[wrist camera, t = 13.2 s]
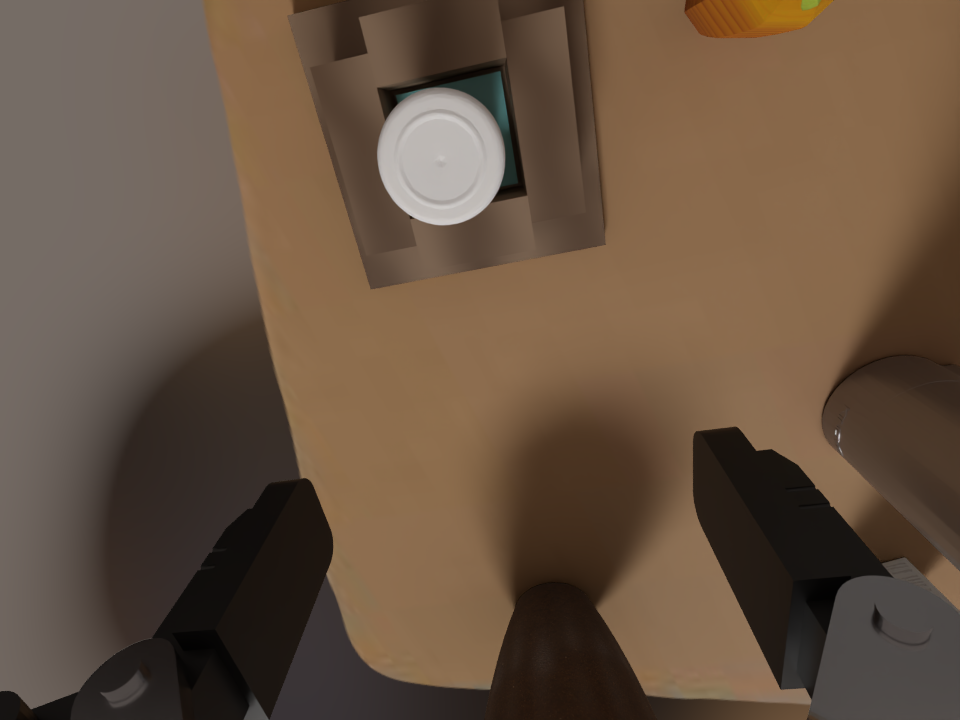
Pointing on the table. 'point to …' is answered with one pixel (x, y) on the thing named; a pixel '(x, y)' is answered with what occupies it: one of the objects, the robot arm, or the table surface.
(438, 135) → the sprinkles bottle
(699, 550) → the table surface
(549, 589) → the plant pot
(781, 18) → the carrot
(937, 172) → the table surface
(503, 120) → the teal square tile
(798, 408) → the table surface
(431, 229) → the socket block
